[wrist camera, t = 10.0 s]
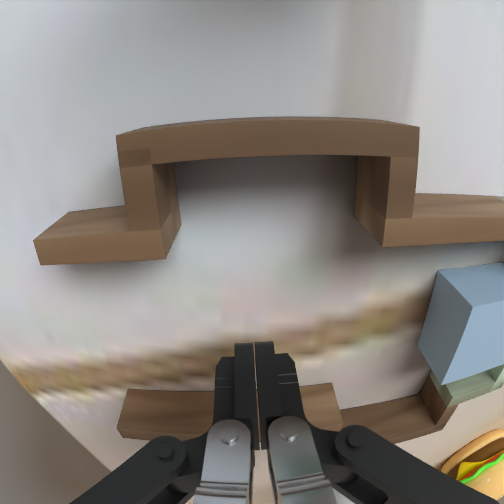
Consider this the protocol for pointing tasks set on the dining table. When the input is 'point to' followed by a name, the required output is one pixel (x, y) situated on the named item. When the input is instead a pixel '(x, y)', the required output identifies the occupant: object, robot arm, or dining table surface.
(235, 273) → the dining table surface
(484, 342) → the block
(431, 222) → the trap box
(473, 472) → the toy cheeseburger
